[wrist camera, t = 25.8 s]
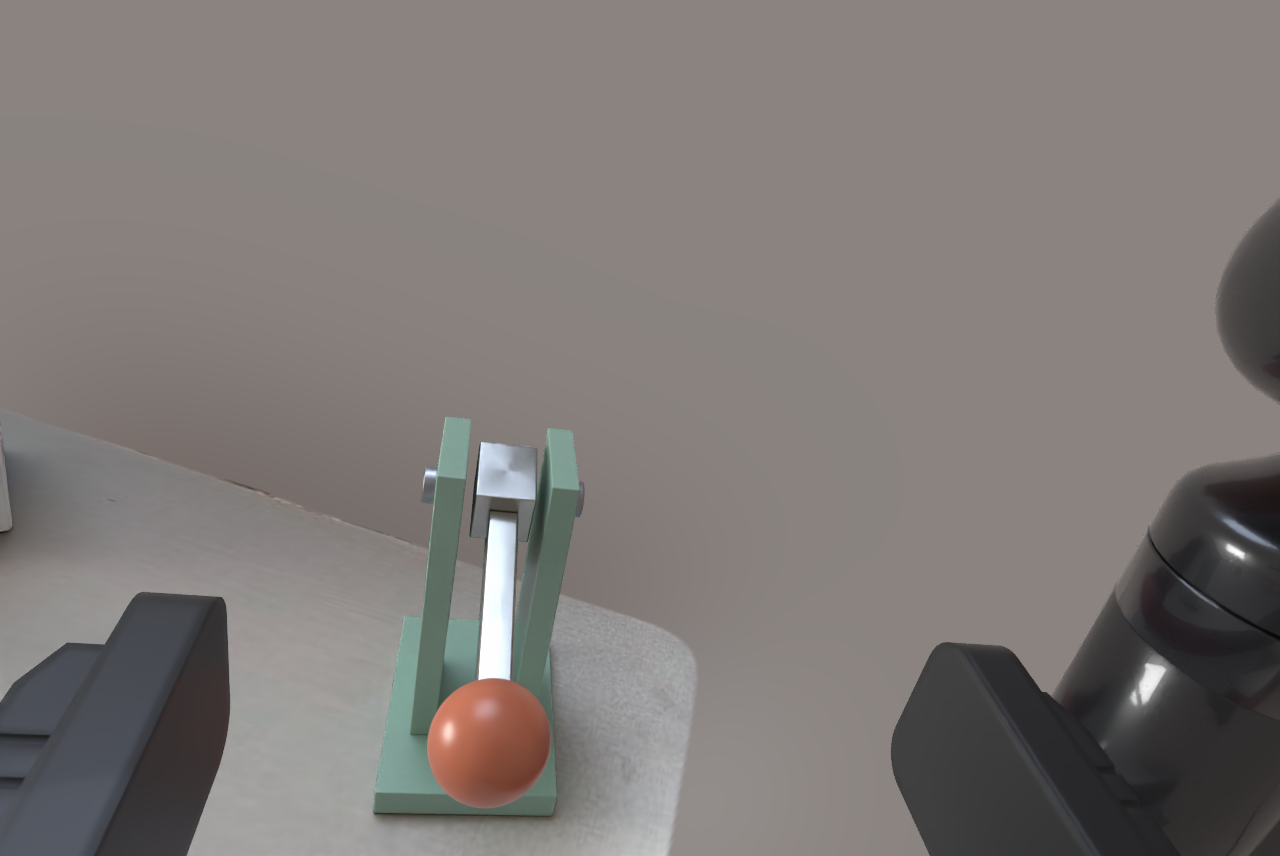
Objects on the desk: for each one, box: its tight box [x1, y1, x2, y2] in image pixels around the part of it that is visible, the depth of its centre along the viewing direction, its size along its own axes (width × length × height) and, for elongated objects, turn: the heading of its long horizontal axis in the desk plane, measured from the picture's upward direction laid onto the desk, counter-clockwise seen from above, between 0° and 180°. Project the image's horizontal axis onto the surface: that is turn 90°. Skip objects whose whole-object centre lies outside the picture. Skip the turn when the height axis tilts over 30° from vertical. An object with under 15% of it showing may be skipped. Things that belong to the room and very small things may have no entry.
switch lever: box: [427, 442, 551, 808], centre depth 28 cm, size 13×4×4 cm, turn 8°
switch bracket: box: [373, 417, 584, 816], centre depth 34 cm, size 10×7×14 cm
